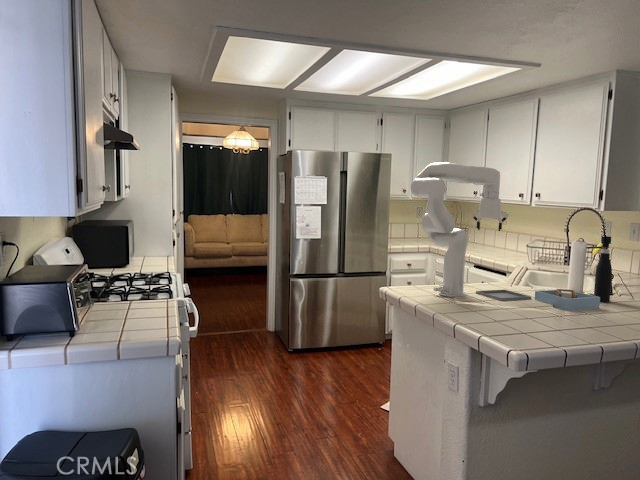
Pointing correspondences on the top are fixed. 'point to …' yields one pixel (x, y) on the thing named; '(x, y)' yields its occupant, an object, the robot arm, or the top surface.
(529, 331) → the top surface
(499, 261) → the top surface
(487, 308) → the top surface
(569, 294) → the stone
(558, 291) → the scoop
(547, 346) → the top surface
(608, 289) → the dark water bottle
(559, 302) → the bin
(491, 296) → the tray
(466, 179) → the robot arm
